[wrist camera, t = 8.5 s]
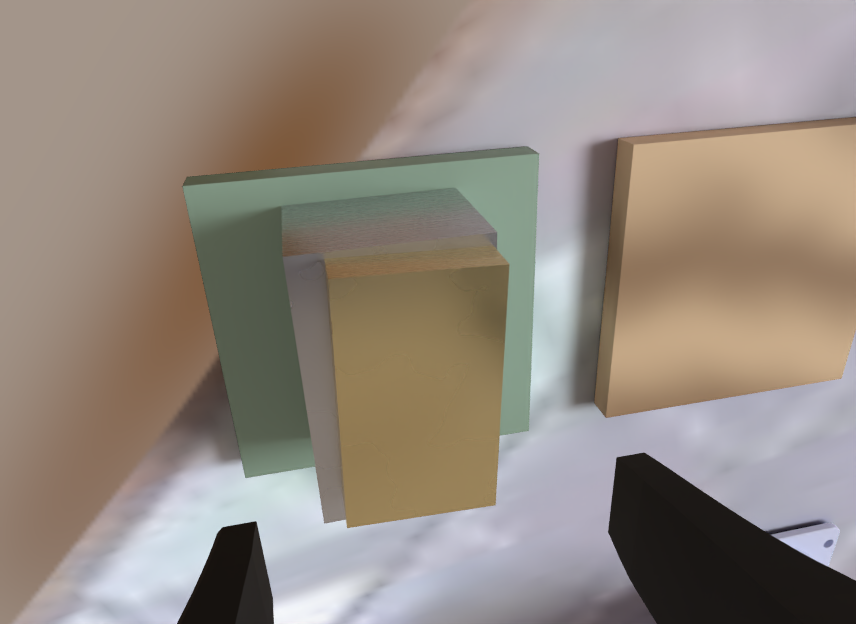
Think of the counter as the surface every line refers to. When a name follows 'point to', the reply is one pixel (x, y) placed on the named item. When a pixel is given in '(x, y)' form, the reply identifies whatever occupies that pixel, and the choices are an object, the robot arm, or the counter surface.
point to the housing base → (306, 281)
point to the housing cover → (417, 379)
